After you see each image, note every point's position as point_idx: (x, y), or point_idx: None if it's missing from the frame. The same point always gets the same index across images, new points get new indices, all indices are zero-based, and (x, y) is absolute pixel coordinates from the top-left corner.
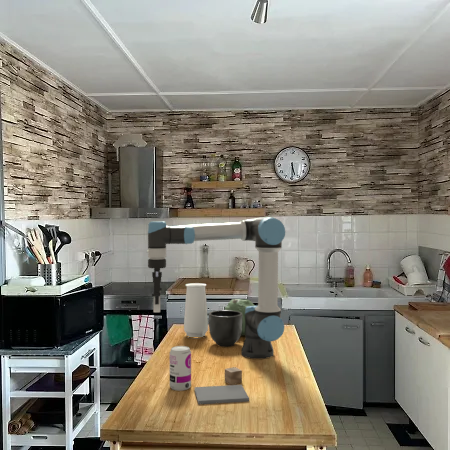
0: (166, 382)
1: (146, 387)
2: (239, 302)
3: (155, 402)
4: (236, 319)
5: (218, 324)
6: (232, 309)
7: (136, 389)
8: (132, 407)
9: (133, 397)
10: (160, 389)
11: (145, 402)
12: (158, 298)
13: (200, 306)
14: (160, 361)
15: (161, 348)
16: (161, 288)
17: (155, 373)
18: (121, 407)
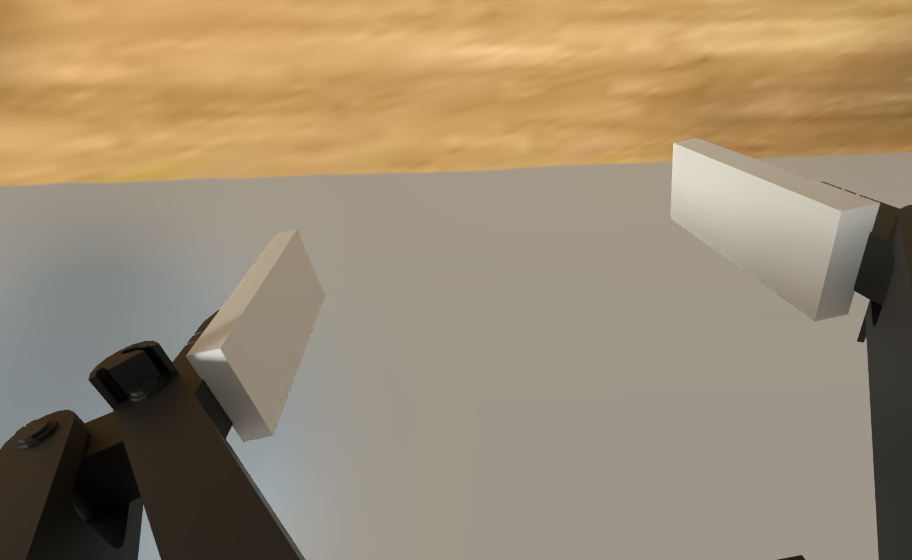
0: (600, 25)
1: (655, 108)
2: None
3: (839, 23)
4: None
5: None
6: None
7: (672, 144)
8: (859, 108)
9: (758, 132)
10: (690, 35)
11: (825, 68)
12: (894, 211)
13: None
14: (280, 132)
15: (42, 183)
16: (97, 374)
17: (471, 113)
18: (844, 148)
